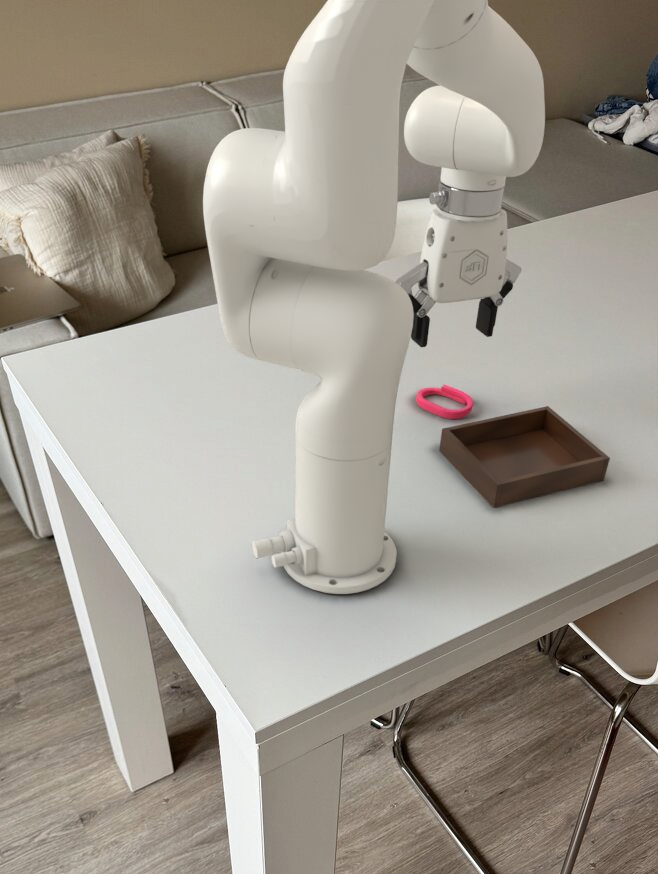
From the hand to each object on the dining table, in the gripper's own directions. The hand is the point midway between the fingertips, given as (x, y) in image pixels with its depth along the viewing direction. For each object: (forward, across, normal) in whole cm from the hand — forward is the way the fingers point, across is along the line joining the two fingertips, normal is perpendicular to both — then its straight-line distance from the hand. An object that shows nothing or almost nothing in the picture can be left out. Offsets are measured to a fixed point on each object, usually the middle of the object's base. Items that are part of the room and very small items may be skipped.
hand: (451, 337), depth 115 cm
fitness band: (+10, +1, +1) cm, 11 cm away
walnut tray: (+11, +2, -16) cm, 19 cm away
